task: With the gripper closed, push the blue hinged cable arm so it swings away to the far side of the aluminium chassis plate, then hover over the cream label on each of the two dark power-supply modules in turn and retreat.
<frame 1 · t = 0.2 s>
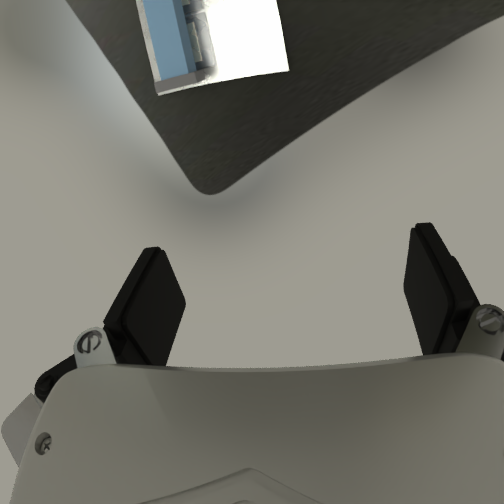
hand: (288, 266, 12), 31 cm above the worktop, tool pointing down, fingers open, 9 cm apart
chassis: (208, 7, 29), on the worktop
cable arm: (162, 2, 24), point 7 cm above the worktop, hinge at 0.0°
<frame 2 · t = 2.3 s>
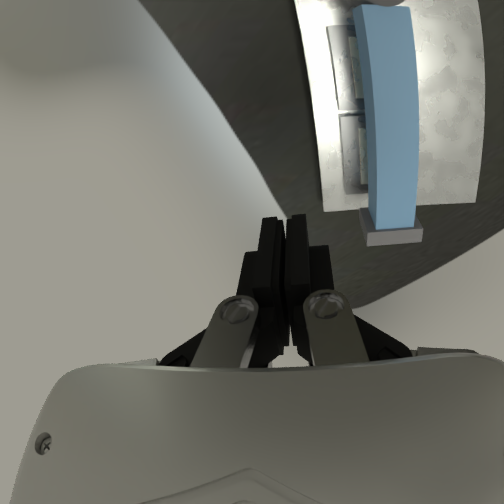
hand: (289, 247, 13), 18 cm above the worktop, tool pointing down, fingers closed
chassis: (400, 96, 23), on the worktop
cable arm: (390, 105, 18), point 7 cm above the worktop, hinge at 0.0°
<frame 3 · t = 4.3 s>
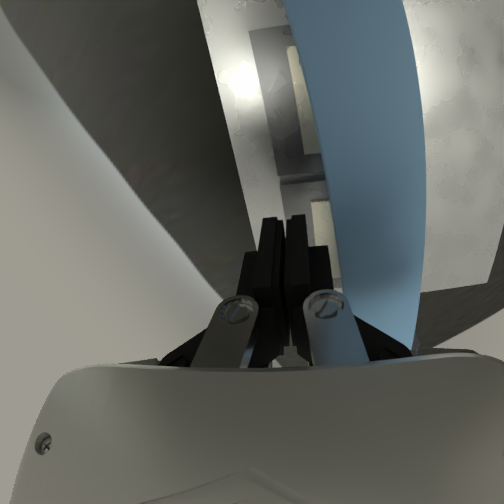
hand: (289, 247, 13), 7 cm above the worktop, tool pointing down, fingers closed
chassis: (385, 138, 16), on the worktop
cable arm: (370, 181, 10), point 7 cm above the worktop, hinge at 4.0°, touching gripper
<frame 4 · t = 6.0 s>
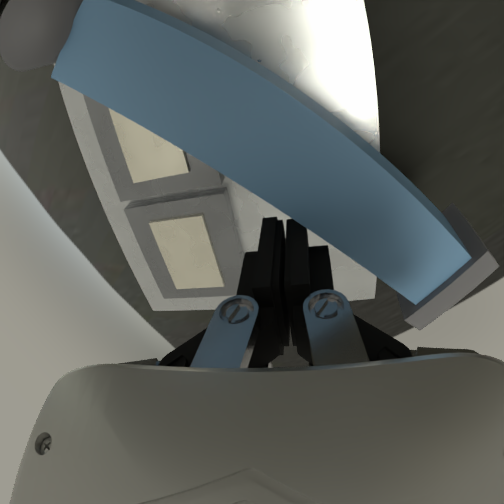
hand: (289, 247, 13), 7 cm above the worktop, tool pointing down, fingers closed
chassis: (229, 156, 18), on the worktop
cable arm: (260, 124, 10), point 7 cm above the worktop, hinge at 45.9°, touching gripper
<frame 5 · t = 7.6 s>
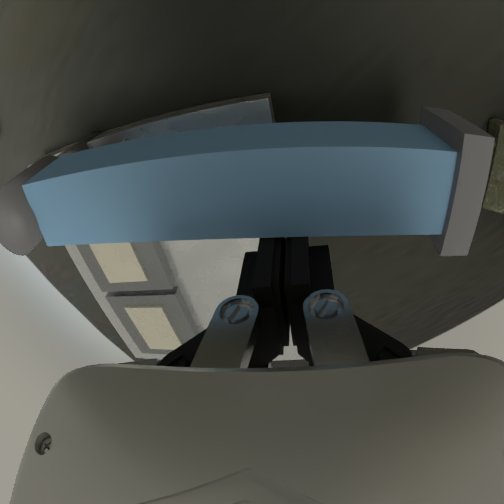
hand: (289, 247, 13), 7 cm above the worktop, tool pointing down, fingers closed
chassis: (181, 256, 22), on the worktop
cable arm: (191, 181, 11), point 7 cm above the worktop, hinge at 85.4°, touching gripper
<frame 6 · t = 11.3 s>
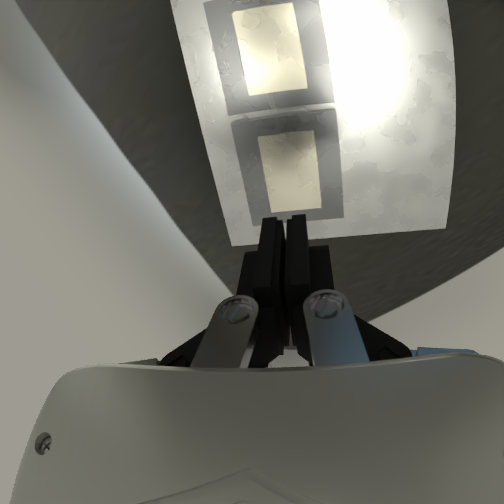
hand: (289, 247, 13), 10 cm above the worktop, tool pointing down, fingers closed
chassis: (328, 87, 18), on the worktop
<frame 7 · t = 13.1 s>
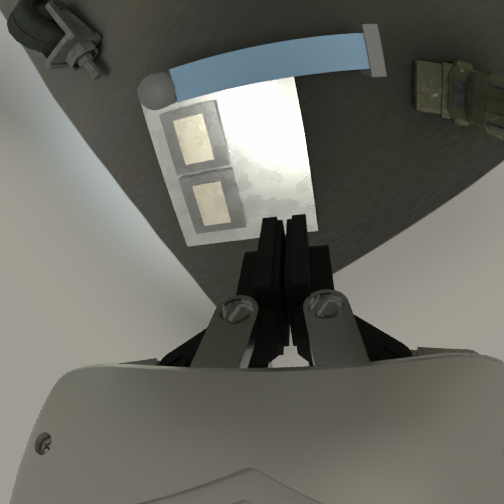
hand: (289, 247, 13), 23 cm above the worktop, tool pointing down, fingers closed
caster wheel: (78, 35, 27), on the worktop
chassis: (233, 153, 34), on the worktop
mechanical leg: (446, 89, 27), on the worktop
cable arm: (257, 64, 23), point 7 cm above the worktop, hinge at 90.8°
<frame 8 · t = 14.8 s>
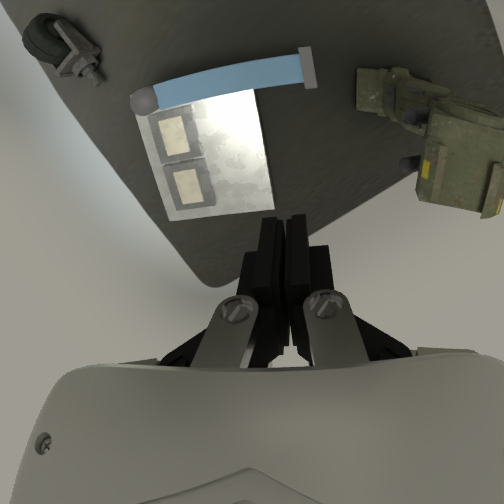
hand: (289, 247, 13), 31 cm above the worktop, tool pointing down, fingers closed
caster wheel: (81, 47, 34), on the worktop
chassis: (206, 146, 42), on the worktop
mechanical leg: (386, 90, 34), on the worktop
cable arm: (219, 80, 30), point 7 cm above the worktop, hinge at 90.8°
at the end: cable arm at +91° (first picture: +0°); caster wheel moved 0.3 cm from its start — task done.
